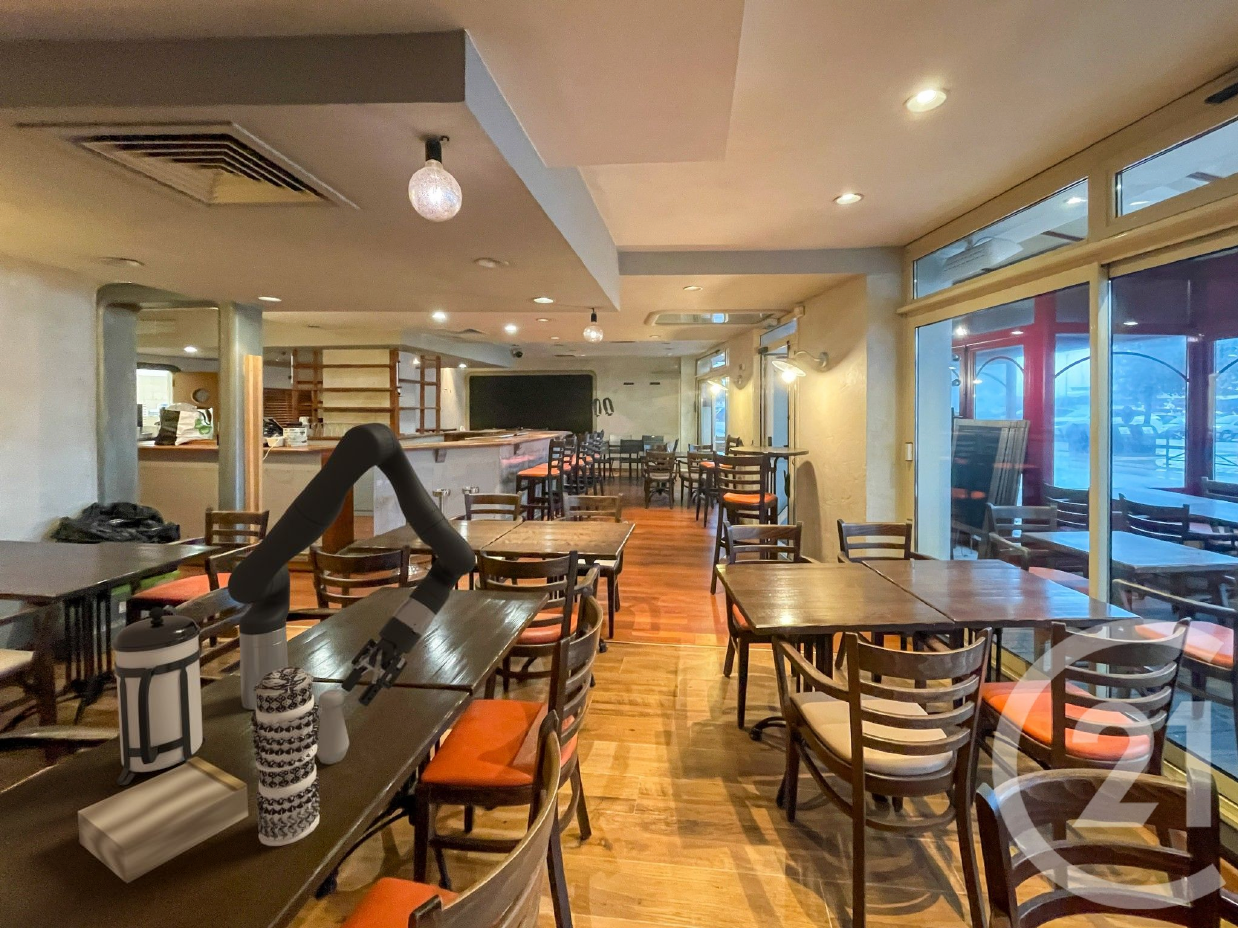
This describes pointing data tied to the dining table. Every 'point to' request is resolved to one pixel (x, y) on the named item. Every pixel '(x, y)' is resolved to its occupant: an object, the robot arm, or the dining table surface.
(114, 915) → the dining table surface
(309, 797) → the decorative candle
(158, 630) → the coffee press
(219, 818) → the wood block
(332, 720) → the salt shaker
